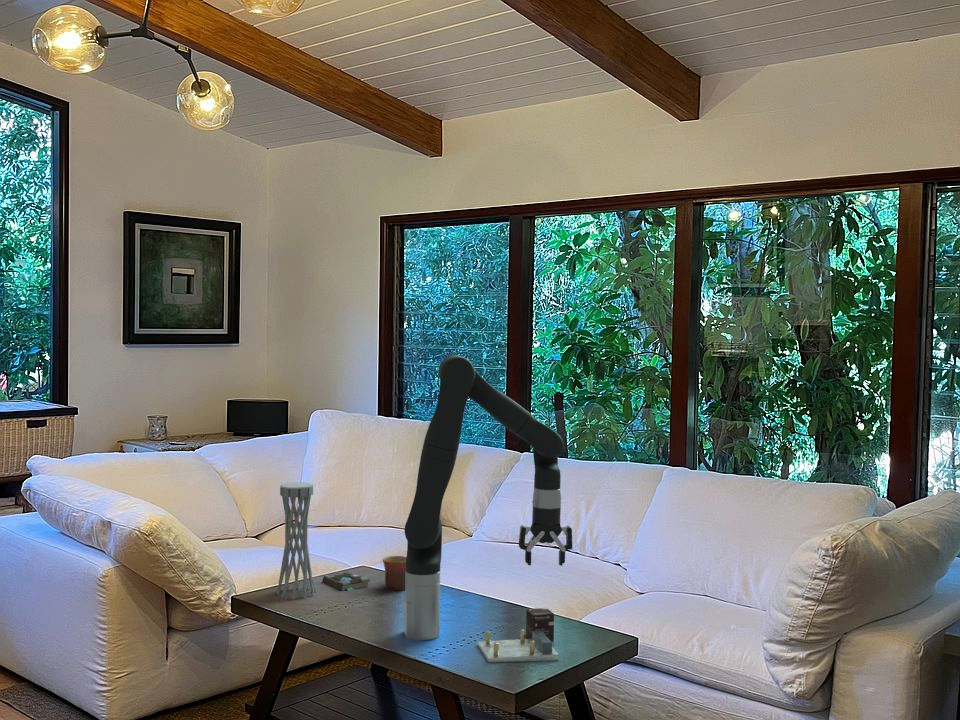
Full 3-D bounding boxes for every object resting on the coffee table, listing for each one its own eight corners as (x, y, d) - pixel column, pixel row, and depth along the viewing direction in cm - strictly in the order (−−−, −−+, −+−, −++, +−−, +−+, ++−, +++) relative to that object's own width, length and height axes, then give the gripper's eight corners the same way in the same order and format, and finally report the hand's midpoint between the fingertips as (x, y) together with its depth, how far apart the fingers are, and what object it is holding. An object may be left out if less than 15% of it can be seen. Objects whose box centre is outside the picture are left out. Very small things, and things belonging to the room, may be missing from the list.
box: (532, 642, 254) (532, 615, 254) (525, 635, 260) (525, 608, 260) (554, 641, 256) (554, 613, 255) (546, 634, 261) (547, 607, 261)
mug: (411, 594, 298) (412, 562, 298) (383, 595, 297) (383, 562, 296) (407, 584, 310) (407, 553, 310) (380, 585, 308) (380, 553, 308)
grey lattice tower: (306, 608, 282) (307, 489, 281) (264, 604, 286) (265, 487, 285) (325, 596, 295) (326, 482, 294) (286, 592, 299) (286, 480, 298)
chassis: (488, 664, 237) (488, 646, 237) (477, 647, 250) (477, 630, 249) (558, 660, 241) (558, 642, 240) (544, 643, 253) (544, 626, 253)
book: (384, 595, 299) (384, 579, 299) (349, 601, 291) (350, 585, 291) (351, 581, 314) (351, 566, 314) (318, 587, 307) (318, 571, 307)
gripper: (522, 507, 254) (520, 568, 255) (575, 507, 256) (573, 568, 256) (518, 502, 262) (516, 561, 262) (570, 502, 263) (568, 561, 263)
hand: (544, 564), depth 259 cm, fingers open, 8 cm apart
